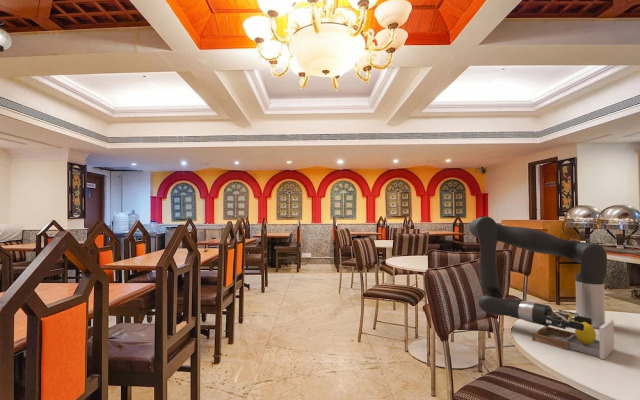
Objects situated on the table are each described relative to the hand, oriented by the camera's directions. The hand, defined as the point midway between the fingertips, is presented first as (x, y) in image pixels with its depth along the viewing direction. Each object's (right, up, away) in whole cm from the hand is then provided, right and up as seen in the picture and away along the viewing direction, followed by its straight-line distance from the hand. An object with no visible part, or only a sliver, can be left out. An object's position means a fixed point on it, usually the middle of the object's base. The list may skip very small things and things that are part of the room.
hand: (587, 324), depth 115 cm
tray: (0, -8, 0) cm, 8 cm away
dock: (-5, -8, +7) cm, 12 cm away
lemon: (0, -7, 0) cm, 8 cm away
